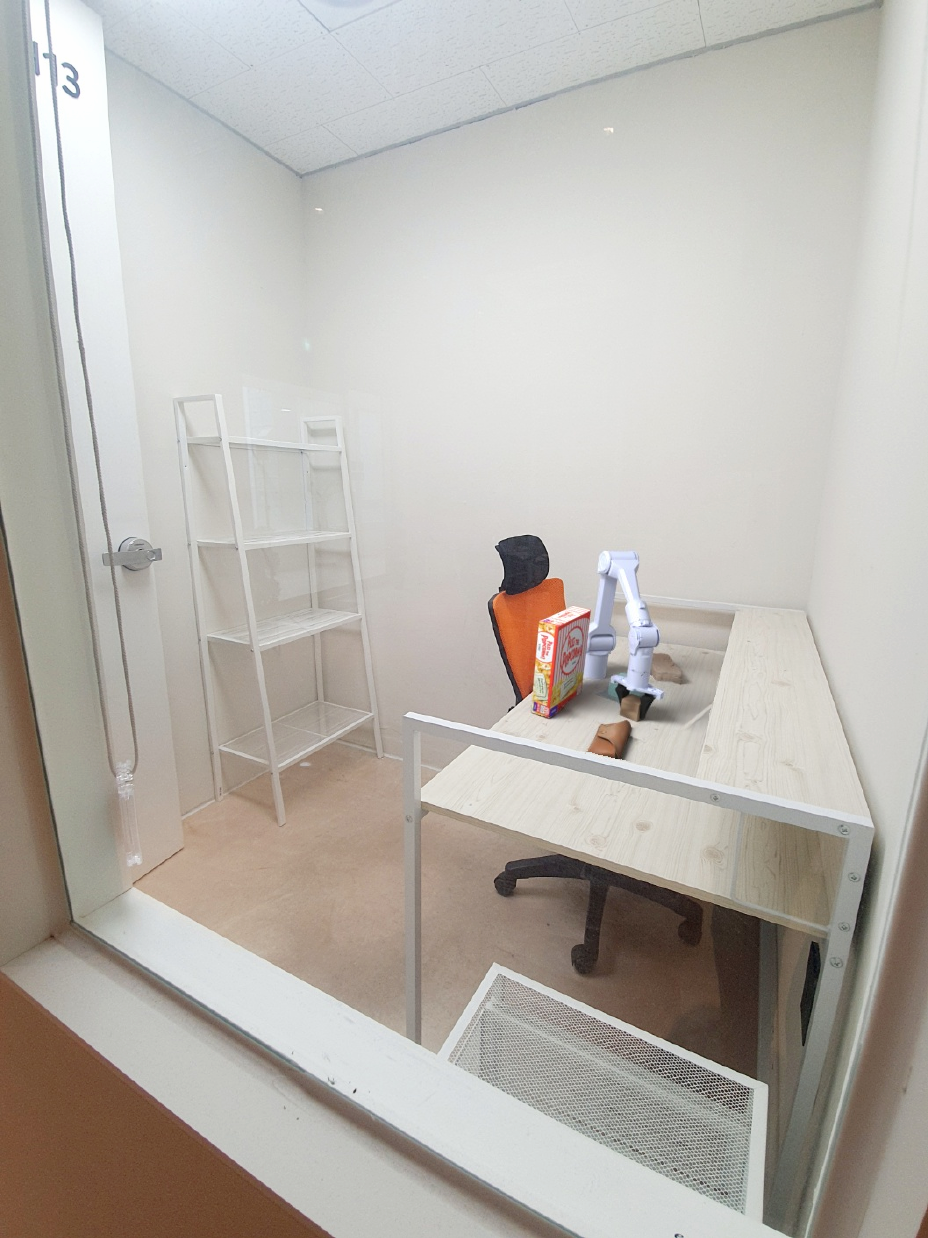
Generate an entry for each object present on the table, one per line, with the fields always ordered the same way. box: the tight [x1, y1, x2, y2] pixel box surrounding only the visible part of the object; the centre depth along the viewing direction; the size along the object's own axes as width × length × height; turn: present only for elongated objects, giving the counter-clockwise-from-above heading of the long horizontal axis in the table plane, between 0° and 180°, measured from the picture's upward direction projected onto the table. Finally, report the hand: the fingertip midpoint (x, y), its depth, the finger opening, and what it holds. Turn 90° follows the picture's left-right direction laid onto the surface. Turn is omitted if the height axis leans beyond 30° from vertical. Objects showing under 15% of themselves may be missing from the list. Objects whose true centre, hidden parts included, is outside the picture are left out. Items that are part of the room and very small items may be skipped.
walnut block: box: [619, 694, 641, 723], centre depth 146 cm, size 5×5×6 cm
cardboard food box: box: [530, 605, 592, 718], centre depth 151 cm, size 20×6×27 cm, turn 143°
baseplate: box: [596, 686, 645, 704], centre depth 159 cm, size 12×12×1 cm
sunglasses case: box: [585, 719, 632, 760], centre depth 134 cm, size 18×7×7 cm
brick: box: [650, 652, 683, 685], centre depth 177 cm, size 17×8×5 cm, turn 177°
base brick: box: [608, 672, 641, 698], centre depth 158 cm, size 7×7×5 cm
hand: (632, 714), depth 147 cm, fingers closed on walnut block, 5 cm apart
